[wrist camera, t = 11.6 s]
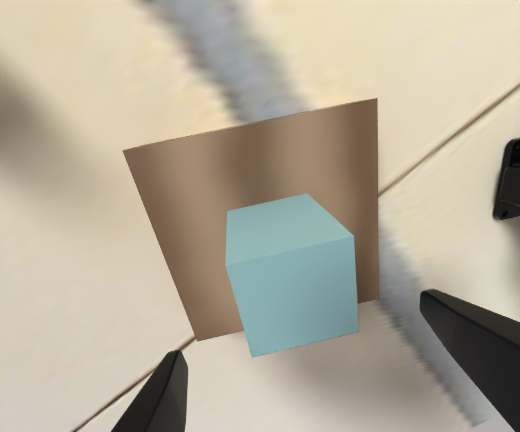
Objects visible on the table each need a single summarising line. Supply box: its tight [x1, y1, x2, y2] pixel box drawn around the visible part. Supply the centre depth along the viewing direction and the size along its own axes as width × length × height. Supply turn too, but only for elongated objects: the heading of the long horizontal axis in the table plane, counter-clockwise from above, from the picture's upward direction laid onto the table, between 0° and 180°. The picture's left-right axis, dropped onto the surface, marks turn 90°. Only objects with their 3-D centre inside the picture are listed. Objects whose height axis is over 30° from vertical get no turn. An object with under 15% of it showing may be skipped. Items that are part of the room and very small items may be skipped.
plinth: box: [123, 98, 379, 341], centre depth 17 cm, size 14×14×3 cm
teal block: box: [225, 193, 359, 358], centre depth 13 cm, size 5×5×6 cm
